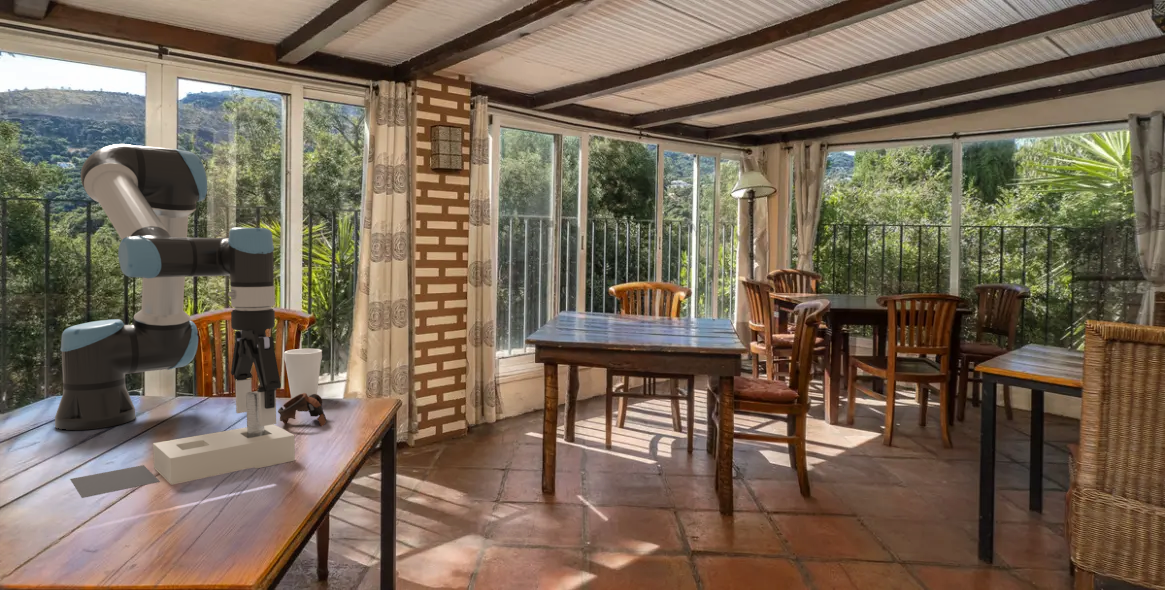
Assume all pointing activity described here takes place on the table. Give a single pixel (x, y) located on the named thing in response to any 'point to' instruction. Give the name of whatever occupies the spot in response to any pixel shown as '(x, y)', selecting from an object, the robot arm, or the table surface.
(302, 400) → the brown arched piece
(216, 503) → the table surface
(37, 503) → the table surface
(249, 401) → the peg
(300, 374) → the foam cup
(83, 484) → the mat
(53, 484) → the table surface
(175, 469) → the hole block
